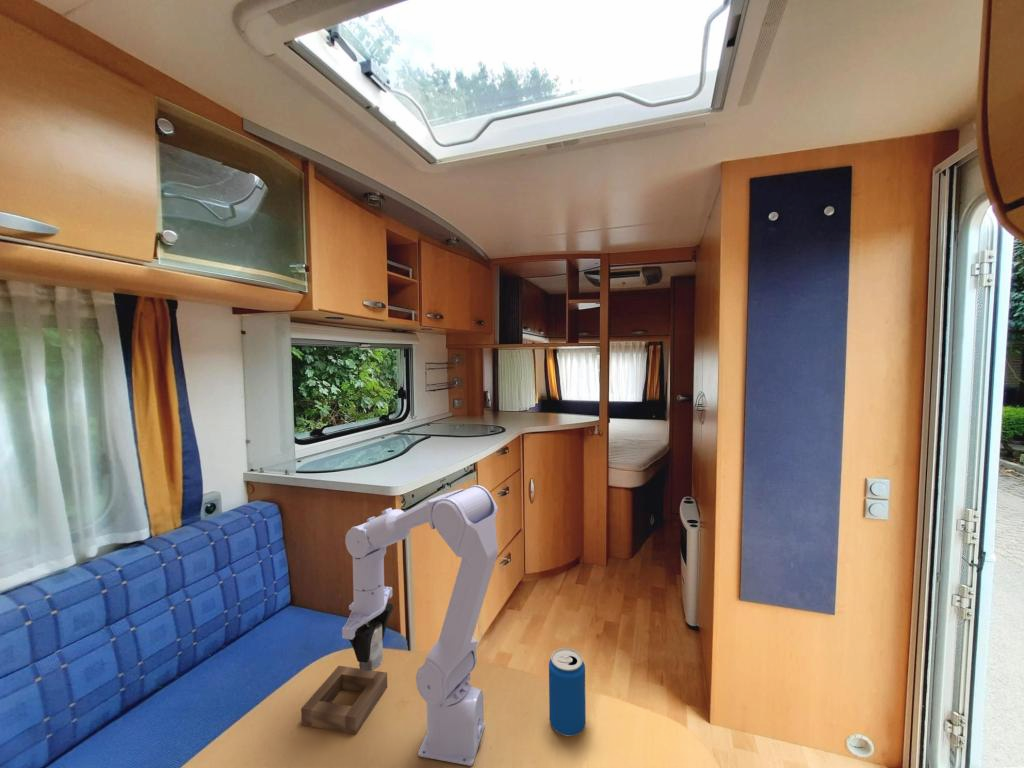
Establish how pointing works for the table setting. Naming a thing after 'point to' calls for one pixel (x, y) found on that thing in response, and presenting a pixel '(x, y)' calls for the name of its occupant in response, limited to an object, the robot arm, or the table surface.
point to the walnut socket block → (343, 716)
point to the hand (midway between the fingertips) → (370, 651)
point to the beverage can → (567, 692)
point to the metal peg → (374, 648)
